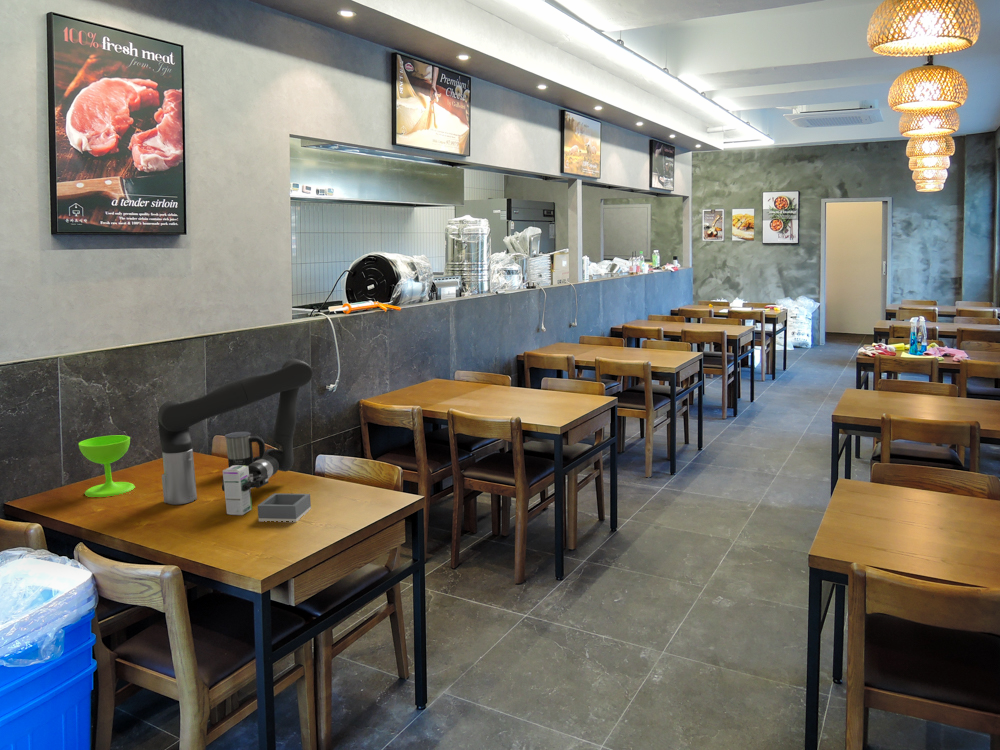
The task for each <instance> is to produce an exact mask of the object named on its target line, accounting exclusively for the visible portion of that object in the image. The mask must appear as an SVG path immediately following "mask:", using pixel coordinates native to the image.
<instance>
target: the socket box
mask: <svg viewBox="0 0 1000 750" xmlns="http://www.w3.org/2000/svg"><path fill="white" fill-rule="evenodd" d="M310 509H312V505H311V493H279V492H278V493H275V492H274V493H273V494H271V495H270V496H269V497H267V498H266V499H264V500H263V501H261V502H260V503H259V504H258V505H257V515H258V522H264V521H265V523H267V521H270V523H272V522H271V521H274V522H275V523H276V521H278V522H277V523H287V522H286V521H289V522H288V523H297V522H298V521H300V520H301V519H302V518H303V517H304V516H305V515H306V514H308V513H309V512H310V511H311V510H310ZM309 510H310V511H309ZM303 515H304V516H303ZM302 516H303V517H302ZM301 517H302V518H301ZM300 518H301V519H300ZM281 521H283V522H281ZM292 521H293V522H292ZM296 521H297V522H296Z"/></svg>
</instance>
